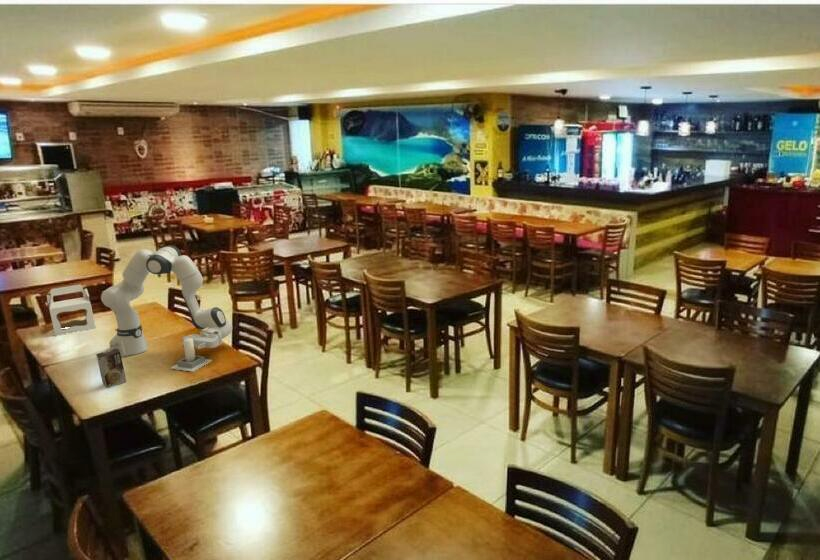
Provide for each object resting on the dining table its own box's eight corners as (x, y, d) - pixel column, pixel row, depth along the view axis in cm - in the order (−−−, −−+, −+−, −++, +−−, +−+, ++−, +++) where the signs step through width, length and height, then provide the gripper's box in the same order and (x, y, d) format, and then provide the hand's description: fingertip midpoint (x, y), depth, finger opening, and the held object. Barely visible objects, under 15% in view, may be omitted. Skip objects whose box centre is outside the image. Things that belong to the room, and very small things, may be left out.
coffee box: (122, 378, 275) (116, 347, 270) (126, 382, 270) (120, 351, 266) (102, 384, 268) (95, 353, 264) (106, 388, 264) (100, 357, 260)
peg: (184, 364, 285) (181, 341, 281) (191, 361, 289) (187, 337, 286) (191, 365, 283) (188, 342, 280) (198, 362, 287) (194, 338, 284)
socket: (171, 369, 283) (169, 363, 282) (190, 358, 295) (189, 352, 294) (192, 372, 278) (191, 366, 277) (211, 361, 290) (211, 355, 289)
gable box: (94, 322, 360) (85, 281, 352) (96, 328, 349) (87, 285, 342) (54, 330, 348) (44, 287, 341) (54, 336, 338) (44, 292, 330)
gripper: (192, 329, 300) (173, 338, 287) (223, 333, 292) (204, 342, 280) (194, 340, 301) (175, 350, 289) (224, 344, 294) (206, 354, 282)
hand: (190, 346), depth 284 cm, fingers open, 8 cm apart
